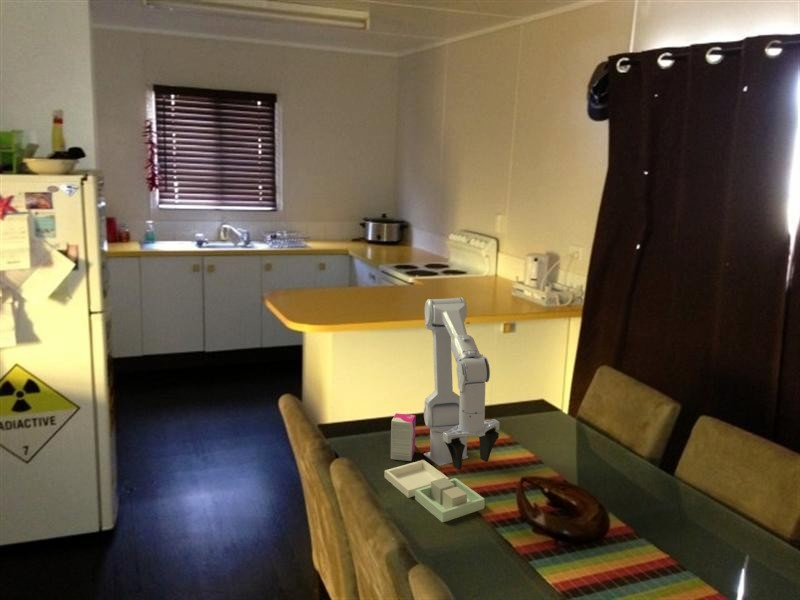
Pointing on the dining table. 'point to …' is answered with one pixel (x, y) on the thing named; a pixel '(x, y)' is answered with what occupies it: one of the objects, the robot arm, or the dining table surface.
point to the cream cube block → (440, 489)
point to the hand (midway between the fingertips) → (470, 464)
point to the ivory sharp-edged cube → (453, 497)
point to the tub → (443, 515)
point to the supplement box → (403, 437)
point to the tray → (413, 476)
